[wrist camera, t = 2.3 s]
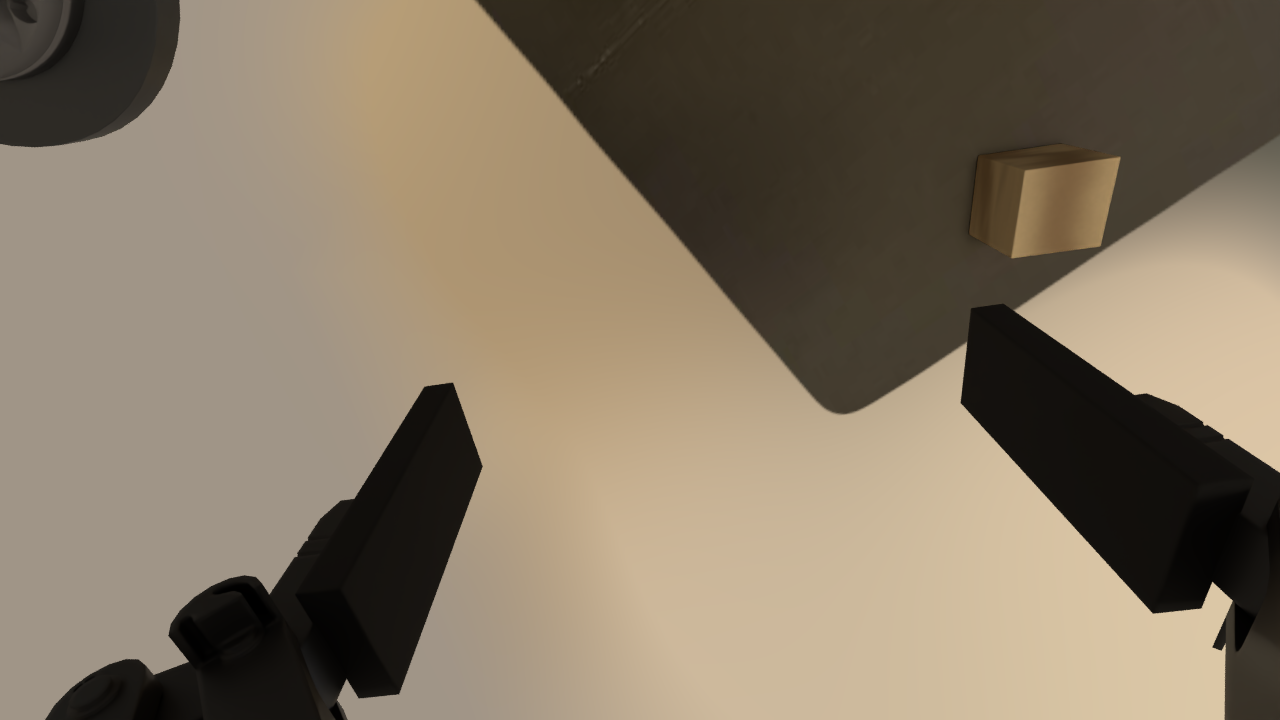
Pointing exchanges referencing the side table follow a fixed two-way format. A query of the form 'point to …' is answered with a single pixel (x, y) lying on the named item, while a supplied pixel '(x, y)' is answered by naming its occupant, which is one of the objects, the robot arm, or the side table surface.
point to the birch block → (1042, 199)
